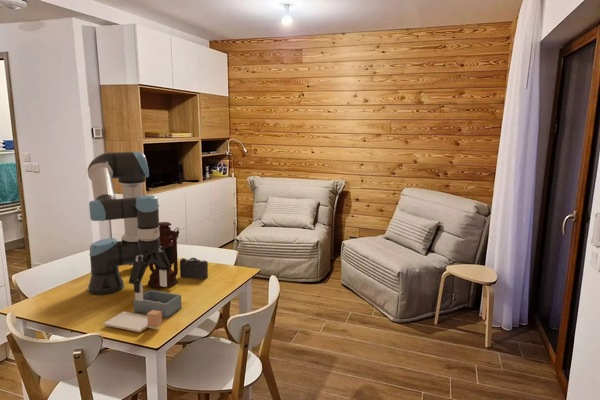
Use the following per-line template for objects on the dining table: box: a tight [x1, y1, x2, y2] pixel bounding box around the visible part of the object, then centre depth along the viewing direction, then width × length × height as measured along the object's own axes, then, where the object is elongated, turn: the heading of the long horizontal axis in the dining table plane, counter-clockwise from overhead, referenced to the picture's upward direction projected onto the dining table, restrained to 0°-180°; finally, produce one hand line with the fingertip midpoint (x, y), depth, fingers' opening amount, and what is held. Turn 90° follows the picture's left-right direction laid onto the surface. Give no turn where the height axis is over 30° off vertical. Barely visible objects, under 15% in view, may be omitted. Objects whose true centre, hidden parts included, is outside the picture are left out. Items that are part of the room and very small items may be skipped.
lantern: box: [147, 221, 180, 289], centre depth 197 cm, size 17×14×30 cm
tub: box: [133, 289, 183, 319], centre depth 169 cm, size 16×10×6 cm, turn 71°
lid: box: [102, 310, 163, 333], centre depth 156 cm, size 21×11×7 cm, turn 72°
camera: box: [179, 257, 209, 280], centre depth 210 cm, size 14×11×10 cm
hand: (151, 292), depth 152 cm, fingers open, 13 cm apart
